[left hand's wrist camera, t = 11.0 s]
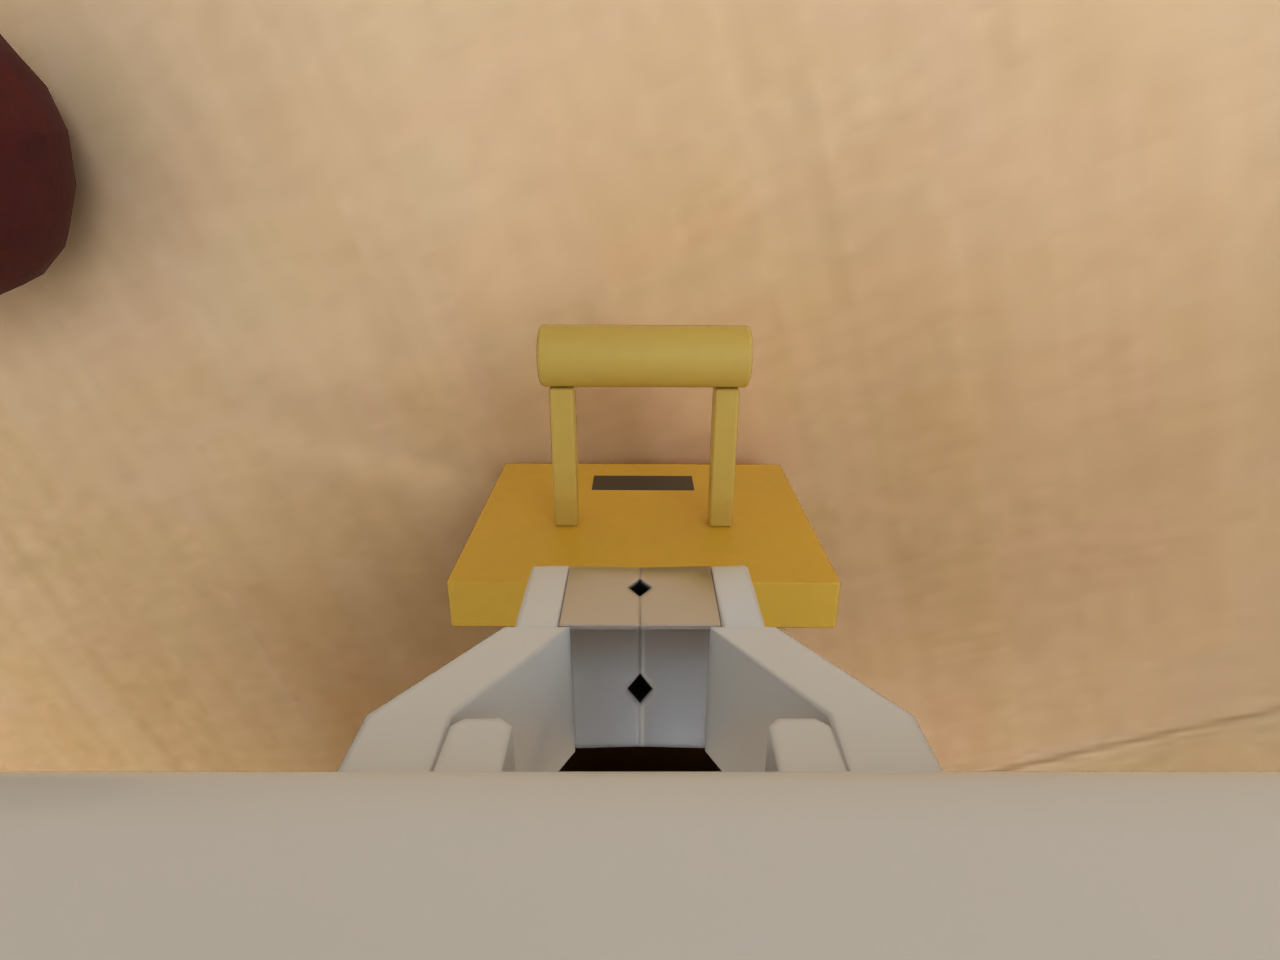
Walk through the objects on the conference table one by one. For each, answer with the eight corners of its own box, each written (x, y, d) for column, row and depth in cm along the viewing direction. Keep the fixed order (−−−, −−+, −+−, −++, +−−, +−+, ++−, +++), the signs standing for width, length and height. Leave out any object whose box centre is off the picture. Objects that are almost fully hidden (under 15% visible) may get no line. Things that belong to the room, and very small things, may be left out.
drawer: (494, 298, 21) (420, 351, 14) (793, 300, 21) (869, 353, 14) (535, 893, 30) (503, 1105, 23) (744, 894, 30) (776, 1107, 23)
